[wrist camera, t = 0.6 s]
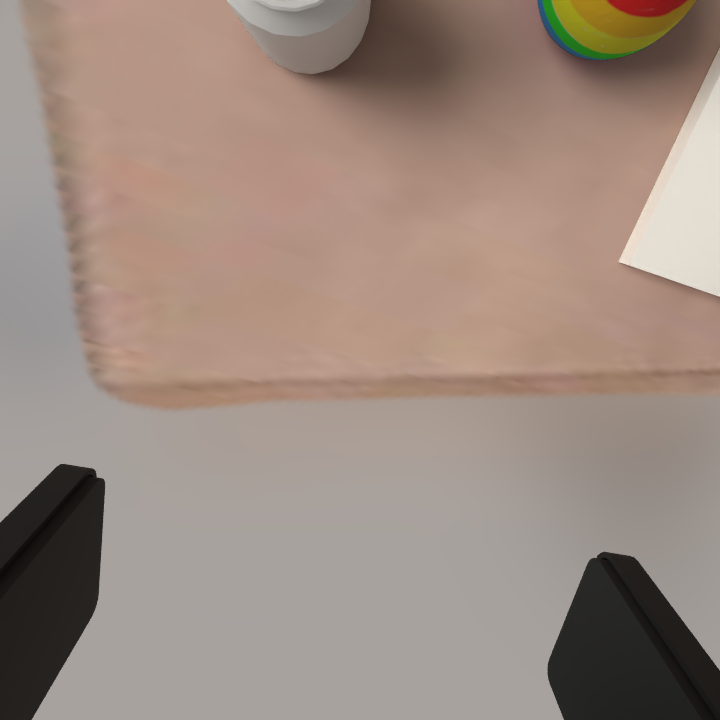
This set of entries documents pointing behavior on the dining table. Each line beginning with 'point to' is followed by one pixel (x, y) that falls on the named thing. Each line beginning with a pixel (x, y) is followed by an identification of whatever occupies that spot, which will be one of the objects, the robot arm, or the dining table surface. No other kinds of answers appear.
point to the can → (305, 30)
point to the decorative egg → (609, 24)
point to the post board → (686, 201)
